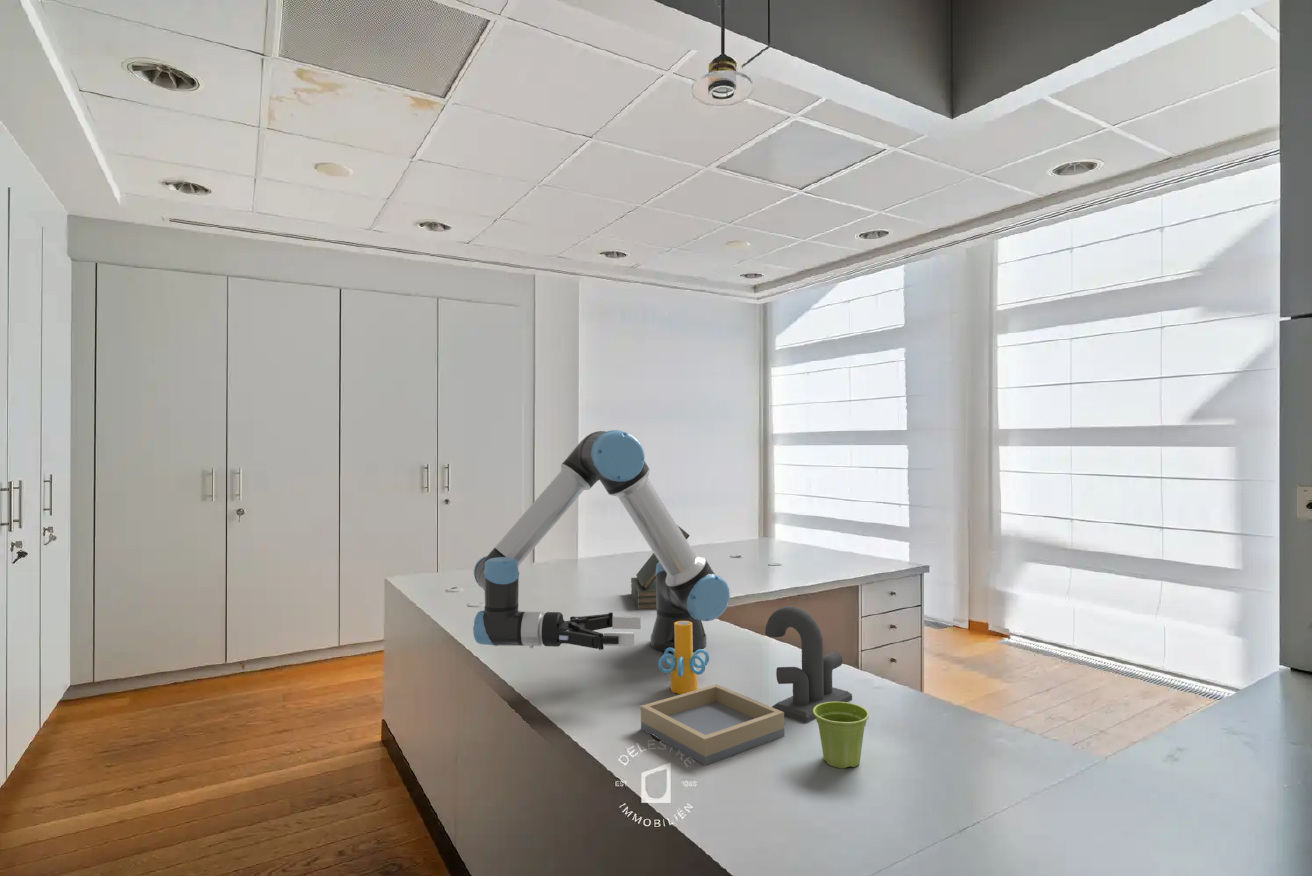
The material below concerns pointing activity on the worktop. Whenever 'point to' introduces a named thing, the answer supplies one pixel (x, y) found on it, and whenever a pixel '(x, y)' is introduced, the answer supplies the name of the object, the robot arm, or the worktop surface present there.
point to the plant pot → (841, 732)
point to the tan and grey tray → (712, 723)
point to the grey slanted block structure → (647, 583)
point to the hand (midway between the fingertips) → (637, 630)
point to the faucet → (805, 666)
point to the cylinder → (683, 660)
